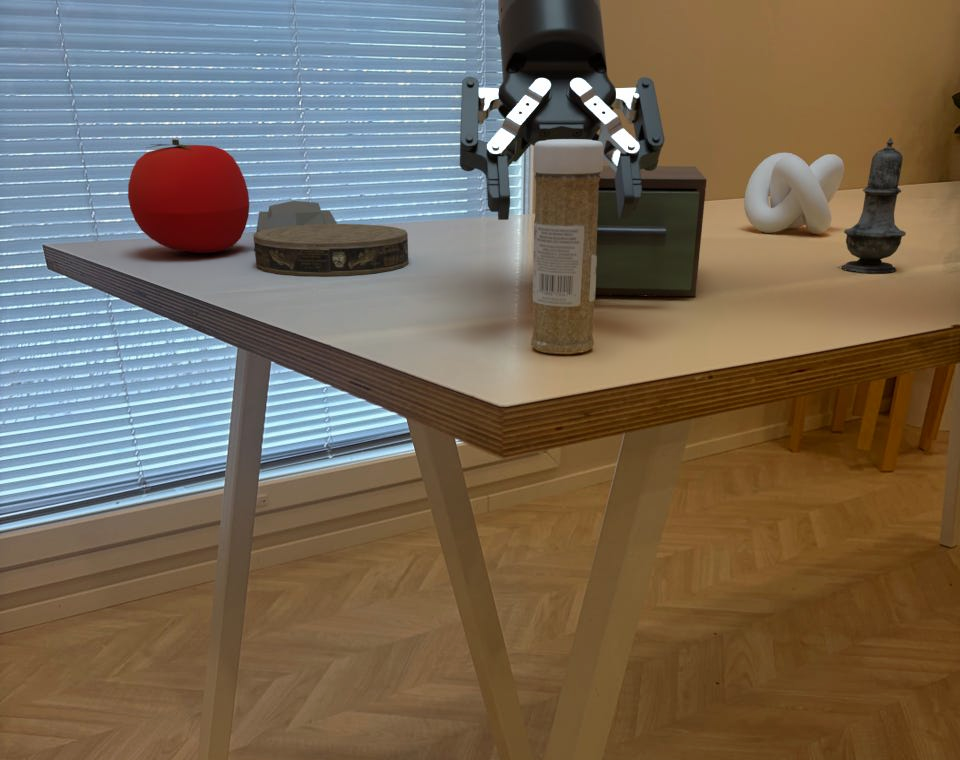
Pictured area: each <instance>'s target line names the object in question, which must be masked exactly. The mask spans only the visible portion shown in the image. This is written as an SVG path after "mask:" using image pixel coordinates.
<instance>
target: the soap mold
mask: <svg viewBox="0 0 960 760" xmlns="http://www.w3.org/2000/svg"><path fill="white" fill-rule="evenodd" d="M257 217H258V218H257V225H256V231H255V233H256V232H259V231H262V230H266V229H272V228H278V227H287V226H298V225H315V224H338V223H337V220H336V218H335V217H334V216H333V214H332V212H331V210H330V209H329V210H327V209H326V210H325V209H321V206H320V203H319V202H313V201H301V200H290V201H287V202H281V203H276V204H271V205H269V207H268V211H267V210H266V211H258V216H257ZM253 251H254V252H255V246H254V249H253Z"/></svg>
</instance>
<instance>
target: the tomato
mask: <svg viewBox="0 0 960 760" xmlns="http://www.w3.org/2000/svg"><path fill="white" fill-rule="evenodd" d="M171 143H172V144H171V145H172V146H169V144H165V143H156V144H155V143H153V144H150V146H151V148H155V147H161V148H158V149H157V148H156V149H153V150H151V151H147V152H145V153H143V155H142V156H141V157H139V158H138V159H137V160H136V162H135V163H134V166H133V168H132V169H131V172H130V177H129V180H128V185H127V186H128V187H127V199H128V203H129V209H130V212H131V214H132V217H133V219H134V221H135V223H136V225H138V227H139V228H140V231H142V233H144V234H145V235H146V236H147V237H148V238H150V239H151V240H152V241H154V242H155V243H157V244H159V245H161V246H163V247H166V248H168V249H171V250H175V251H179V252H186V253H187V252H188V253H197V254H209V253H217V252H222V251H226V250H228V249H230V248H232V247H233V246H235V245H236V244H237V243H238V242H239V241H240V240H241V238H242V236H243V234H244V231H245V229H246V227H247V223H248V220H249V215H250V197H249V190H248V186H247V182H246V179H245V177H244V174H243V172H242V170H241V168H240V167H239V166H240V165H238V163H237V161H236V159H235V158H234V156H232V155H231V154H230V153H229V152H227V151H226V150H225V149H222V148H221V147H217V146H214V145H207V144H206V145H205V144H180V140H179V139H175V138H174V139H171ZM150 146H147V147H146V149H148V148H150ZM163 146H167V147H163Z"/></svg>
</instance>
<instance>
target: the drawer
mask: <svg viewBox="0 0 960 760" xmlns="http://www.w3.org/2000/svg"><path fill="white" fill-rule="evenodd" d="M699 194H700V193H699V192H698V191H688V190H687V189H642V194H641V197H640V201H639V204H638V207H637V210H636V211H632V212H631V216H630V219H619V216H618V206H617V196H616V188H599V197H598V219H597V242H596V244H597V246H596V256H597V267H596V288H621V289H669V290H690V289H691V280H692V269H693V259H694V248H695V237H696V227H697V216H698V205H699Z"/></svg>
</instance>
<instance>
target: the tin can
mask: <svg viewBox="0 0 960 760" xmlns="http://www.w3.org/2000/svg"><path fill="white" fill-rule="evenodd" d="M408 239H409V238H408V232H407V230H406V229H404V228H399V227H394V226H386V225H380V224H379V225H378V224H377V225H376V224H363V223H362V224H361V223H360V224H359V223H337V224H315V225H298V226H287V227H278V228H272V229H266V230H262V231H259V232H256V231H255V232H254V233H253V244H254V247H255V251H254V254H255V255H254V256H255V265H256V266H255V267H256V269H260V270H261V271H263V272H267V273H274V274H279V275H289V276H290V275H291V276H309V277H337V276H356V275H370V274H378V273H385V272H391V271H394V270H398V269H401V268H404V267H406V266H408V264H409V240H408Z"/></svg>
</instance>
